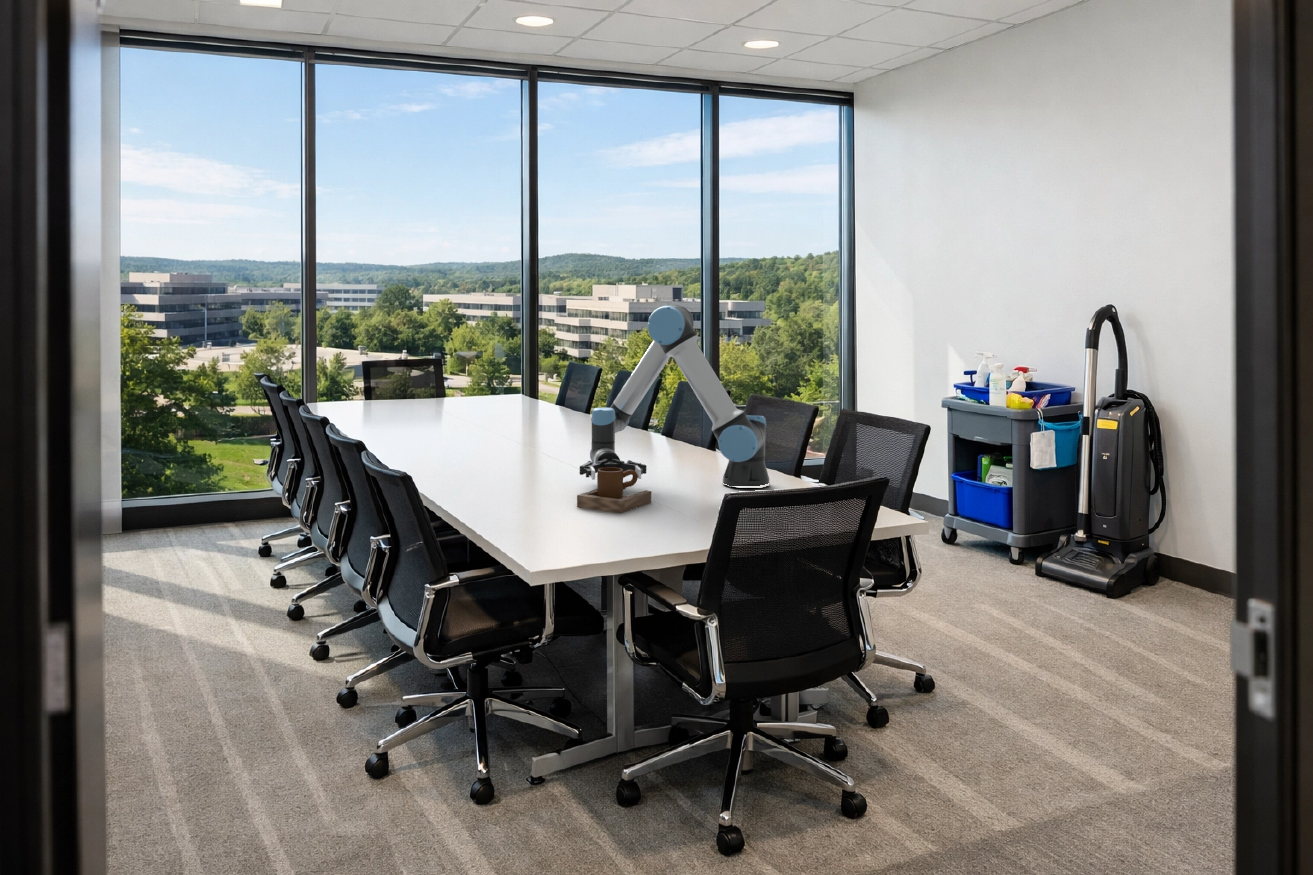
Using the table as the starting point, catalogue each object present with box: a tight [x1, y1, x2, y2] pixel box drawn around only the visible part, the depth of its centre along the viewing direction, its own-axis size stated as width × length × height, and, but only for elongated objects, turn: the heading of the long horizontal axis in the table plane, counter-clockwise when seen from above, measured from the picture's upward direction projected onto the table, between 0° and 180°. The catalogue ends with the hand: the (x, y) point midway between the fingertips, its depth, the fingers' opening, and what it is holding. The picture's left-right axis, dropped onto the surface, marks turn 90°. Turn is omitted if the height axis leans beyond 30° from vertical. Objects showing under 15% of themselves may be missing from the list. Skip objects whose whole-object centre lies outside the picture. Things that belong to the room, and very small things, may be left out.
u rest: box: [576, 488, 652, 514], centre depth 295 cm, size 15×17×4 cm
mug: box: [596, 467, 639, 499], centre depth 295 cm, size 12×8×9 cm, turn 102°
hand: (617, 474), depth 293 cm, fingers open, 13 cm apart
